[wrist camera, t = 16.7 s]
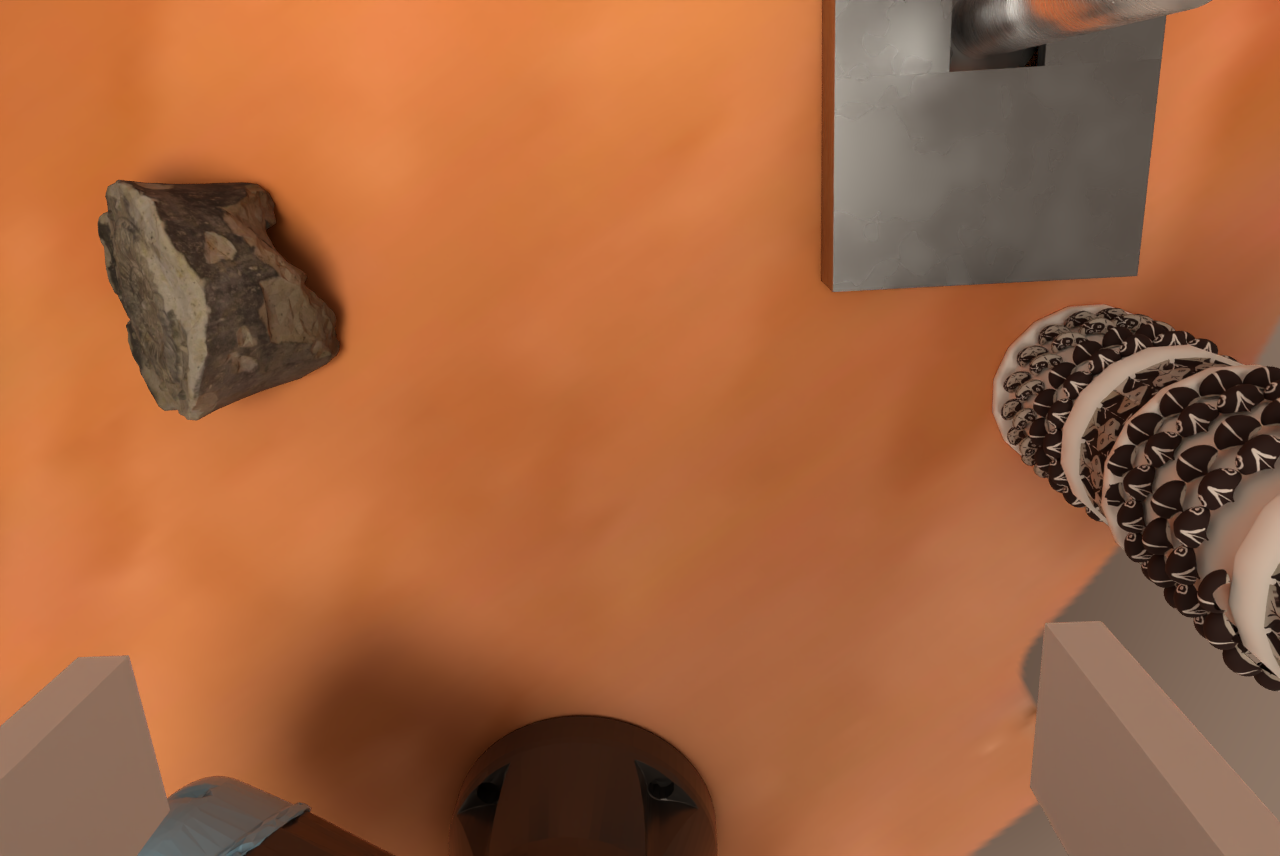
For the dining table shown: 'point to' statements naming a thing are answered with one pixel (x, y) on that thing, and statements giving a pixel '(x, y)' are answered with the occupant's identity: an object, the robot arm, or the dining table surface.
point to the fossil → (210, 293)
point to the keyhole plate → (980, 153)
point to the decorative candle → (1161, 461)
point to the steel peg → (1038, 26)
